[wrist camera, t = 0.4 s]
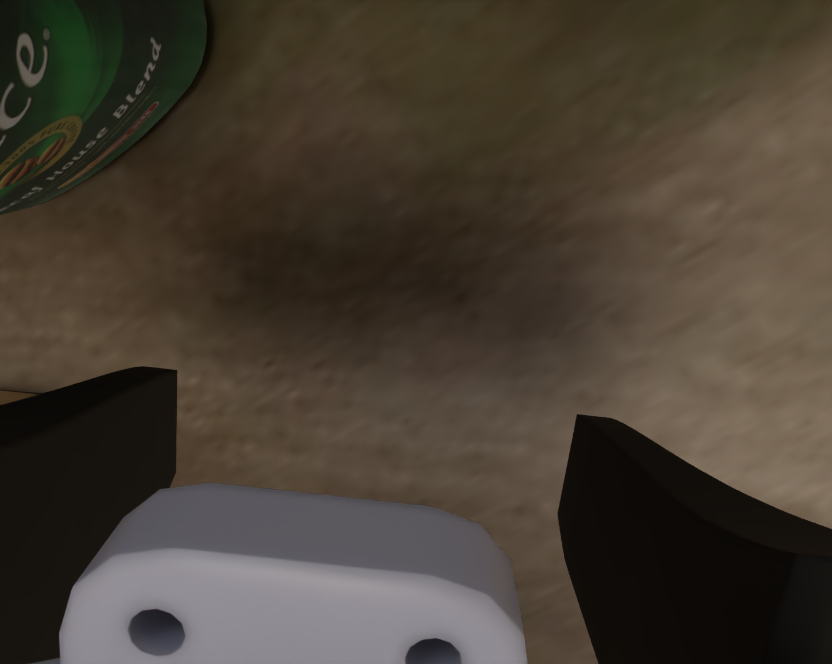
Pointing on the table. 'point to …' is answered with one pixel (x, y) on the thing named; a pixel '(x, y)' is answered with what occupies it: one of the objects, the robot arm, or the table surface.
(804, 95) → the table surface
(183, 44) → the coffee jar
